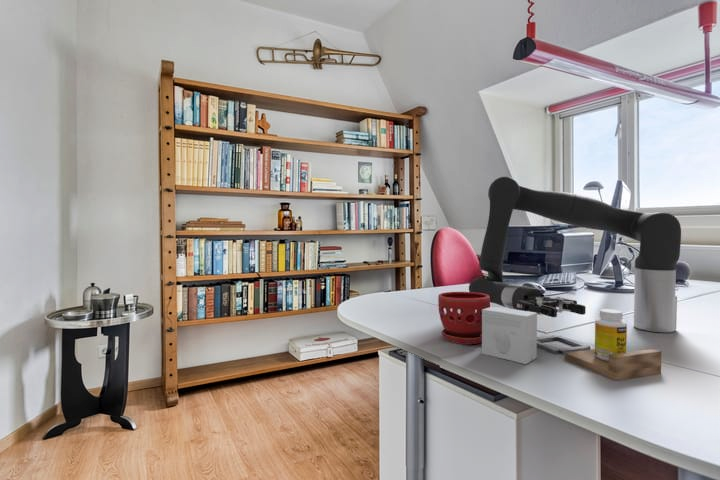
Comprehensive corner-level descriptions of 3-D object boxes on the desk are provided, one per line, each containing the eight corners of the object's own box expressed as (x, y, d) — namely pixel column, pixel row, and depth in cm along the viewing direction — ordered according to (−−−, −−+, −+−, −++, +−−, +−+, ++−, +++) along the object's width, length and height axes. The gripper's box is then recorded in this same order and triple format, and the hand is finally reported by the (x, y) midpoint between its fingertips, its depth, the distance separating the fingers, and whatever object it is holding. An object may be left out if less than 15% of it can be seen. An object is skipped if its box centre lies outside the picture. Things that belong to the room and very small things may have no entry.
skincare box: (537, 357, 85) (538, 311, 84) (526, 365, 80) (527, 316, 80) (493, 347, 92) (493, 304, 92) (480, 353, 87) (480, 309, 87)
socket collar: (558, 337, 99) (558, 334, 99) (593, 350, 89) (593, 347, 89) (525, 341, 96) (525, 338, 96) (557, 355, 86) (557, 351, 86)
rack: (606, 353, 87) (606, 334, 86) (660, 373, 75) (661, 351, 75) (564, 359, 83) (564, 339, 83) (615, 380, 72) (615, 357, 71)
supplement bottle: (618, 365, 75) (619, 315, 75) (589, 357, 80) (590, 310, 80) (631, 359, 78) (632, 311, 78) (602, 352, 83) (602, 306, 83)
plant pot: (498, 338, 99) (498, 293, 98) (475, 350, 89) (475, 301, 89) (453, 329, 108) (453, 288, 107) (428, 339, 98) (428, 294, 98)
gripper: (500, 287, 102) (546, 297, 86) (543, 284, 106) (593, 294, 91) (500, 314, 102) (545, 330, 87) (542, 310, 106) (593, 324, 91)
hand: (570, 311), depth 89 cm, fingers open, 8 cm apart
